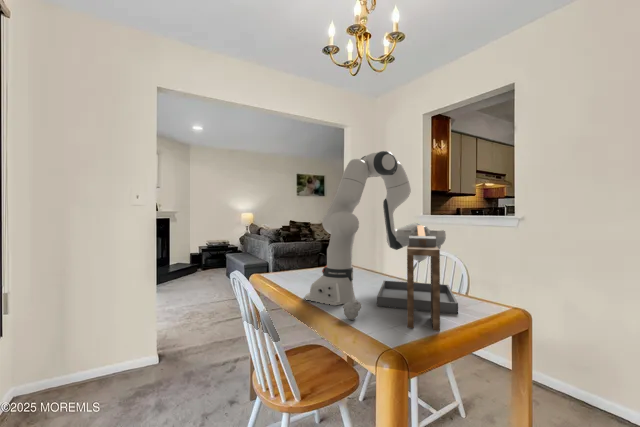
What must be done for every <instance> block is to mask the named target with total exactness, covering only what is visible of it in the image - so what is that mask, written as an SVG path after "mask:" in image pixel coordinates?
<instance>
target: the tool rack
mask: <svg viewBox="0 0 640 427" xmlns="http://www.w3.org/2000/svg"><path fill="white" fill-rule="evenodd" d="M440 252H441V249H438V247H437V246H436V247H423V246H409V245H408V246H406V260H407V261H406V270H407V271H406V274H407V275H406V278H407V279H406V280H407V281H406V282H407V309H406V312H407V313H406V314H407V315H406V316H407V317H406V318H407V320H406V321H407V324H406V325H407V328H410V329H414V328H415V327H414V326H415V322H414V320H415V318H414V317H415V315H414V314H415V310H414V283H415V282H414V278H415V277H414V276H415V275H414V271H415V270H414V269H415V268H414V261H415V260H414V255H421V256H429V257H430V284H431V311H430V319H431V326H432V330H433V331H434V332H435V331H437V332H440V331H441V312H440V284H441V277H440V276H441V271H440V270H441V259H440V258H441V255H440V254H441V253H440Z"/></svg>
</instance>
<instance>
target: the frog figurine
mask: <svg viewBox="0 0 640 427" xmlns="http://www.w3.org/2000/svg"><path fill="white" fill-rule="evenodd" d="M362 305H363V304H362V303H361V301H359V300H358V299H352V300H351V301H349V302H347V303H345V304H342V306H341V308H342V309H343V313H344V317H346V319H347V320H350V321H351V320H352V321H353V320H355V319H356V318H357V317H358V316H359V311H360V310H361V309H362Z"/></svg>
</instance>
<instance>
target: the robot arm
mask: <svg viewBox="0 0 640 427" xmlns="http://www.w3.org/2000/svg"><path fill="white" fill-rule="evenodd" d="M373 177H374V178H378V177H381V179H383V182H384V187H385V190H386V196H385V199H383V202H382V203H383V204H382V205H383V215H384V223H385V231H386V242H387V245H388V246H389V248H391V249H393V250H395V251H397V250H400V249H403V248H404V247H407V246H408V245H409V236H418V234H417V225H421V224H420V223H419V222H413V223H410V224H407V225H403V226H401V227H398V228H396V227H395V221H394V212H395V210H397V208H398V207H400V206H401V205H402V204H404V203H405V201H407V199H408V198H409V197H410V195H411V193H412V192H411V189H412V188H411V185H410V181H409V180H410V179H409V178H408V175H407V173H406V170H405V168H404V166H403V164H402V163H401V162H399V161H397V158H396V157H395V155H394V154H393V153H392V152H391V151H387V150H382V151H378V152H372V153H369V154H367V155H364V156H362V157H361V158H353V159H351V160H349V162H348V163H347V165H346V167H345V169H344V171H343V173H342V176H341V179H340V182H339V184H338V187H337V191H336V193H335V196H334V198H333V200H332V201H331V204H330V206H329V208H328V210H327V211H326V214H325V215H324V216H323V218H322V221H321V224H322V228H323V229H324V231H325V232H327V233H328V234H330V238H329V243H328V246H327V248H326V265H325V266H324V267H323V268H322V270H321V273H322V276H319V278H317V279H316V280H315V281H313V283H312V284H311V286H310V287H309V288H310V289H309V292H308V293H307V294H305V296H304V300H305V299H307V300H311V301H316V302H315V303H317V302H320V303H319V304H323V303H325V304H324V305H329V304H330V306H338V305H339V306H340V305H344V304H345V303H347V302H349V301H351V300H352V299H356V298H357V297H356V295H355V291H354V283H353V280H354V268H353V246H354V241H355V236H356V233H357V232H358V230H359V228H360V221H359V218H358V216H356V215H355V214H354V213H353V212H354V211H355V209H356V207H357V206H358V205H359V204H360V203H361V198H362V195H363V193H364V189H365V187H366V182H367V179H368V178H373ZM424 231H425V236H435V237H436V246H437V247H438V249H439V250H441V248H442V246H443V244H444V243H445V241H446V236H447V234H446V230H444V229H429V228H428V226H424ZM427 258H428V256H421V255H414V261H417V262H422V261H423V262H424V261H426V260H427ZM356 300H357V299H356ZM311 301H310V302H311Z"/></svg>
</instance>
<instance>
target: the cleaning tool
mask: <svg viewBox="0 0 640 427" xmlns="http://www.w3.org/2000/svg"><path fill="white" fill-rule="evenodd" d="M424 227H425V226H424V225H421V224H420V225H417V234H418V236H409V246H423V247H436V237H435V236H425V231H424Z"/></svg>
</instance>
